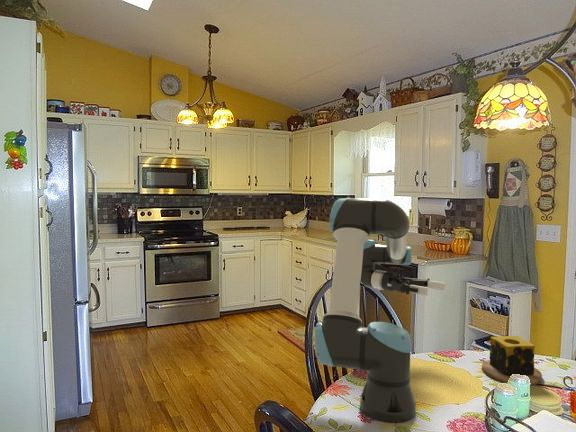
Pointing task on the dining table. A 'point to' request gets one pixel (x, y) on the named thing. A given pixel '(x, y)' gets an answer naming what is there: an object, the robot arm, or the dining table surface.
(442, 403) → the dining table surface
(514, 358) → the yellow spotted cube
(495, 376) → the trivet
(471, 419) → the dining table surface
